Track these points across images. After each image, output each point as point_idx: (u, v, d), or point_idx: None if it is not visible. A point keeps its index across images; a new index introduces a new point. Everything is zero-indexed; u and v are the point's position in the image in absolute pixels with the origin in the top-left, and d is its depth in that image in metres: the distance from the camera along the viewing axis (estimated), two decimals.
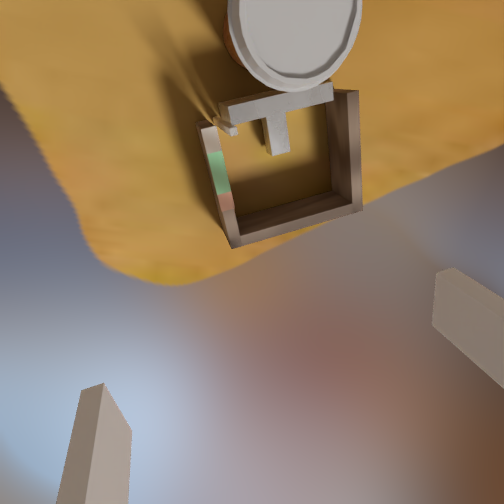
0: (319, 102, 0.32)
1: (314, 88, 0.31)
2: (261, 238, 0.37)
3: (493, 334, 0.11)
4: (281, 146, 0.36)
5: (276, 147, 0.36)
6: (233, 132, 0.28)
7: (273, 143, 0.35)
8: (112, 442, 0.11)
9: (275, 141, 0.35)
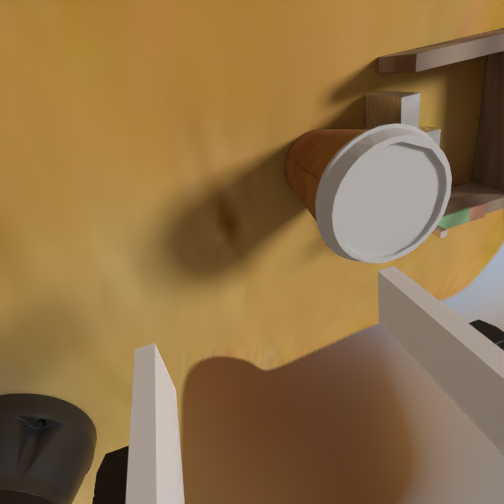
0: (417, 112, 0.27)
1: (403, 121, 0.27)
2: None
3: (422, 328, 0.12)
4: None
5: None
6: (444, 234, 0.28)
7: None
8: (165, 394, 0.12)
9: None
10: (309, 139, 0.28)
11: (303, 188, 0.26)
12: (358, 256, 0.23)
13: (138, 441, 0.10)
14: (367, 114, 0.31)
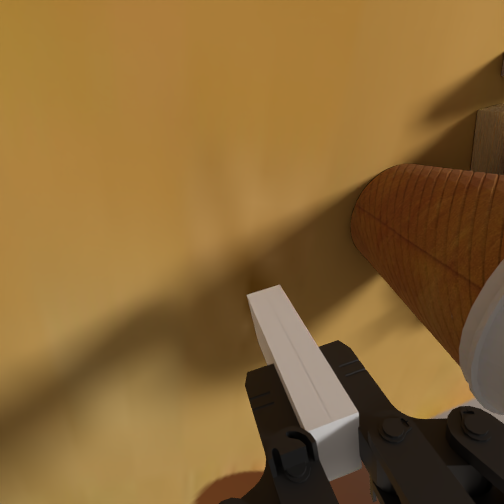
0: None
1: None
2: None
3: None
4: None
5: None
6: None
7: None
8: None
9: None
10: (404, 185, 0.17)
11: (408, 276, 0.15)
12: None
13: (282, 357, 0.11)
14: (478, 140, 0.20)
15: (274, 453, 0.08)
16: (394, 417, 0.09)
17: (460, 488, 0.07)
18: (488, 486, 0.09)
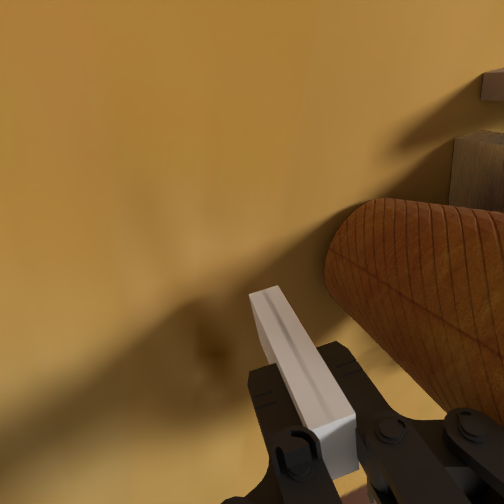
0: None
1: None
2: None
3: None
4: None
5: None
6: None
7: None
8: None
9: None
10: (390, 227, 0.14)
11: (418, 348, 0.12)
12: None
13: (285, 356, 0.11)
14: (455, 170, 0.18)
15: (277, 452, 0.08)
16: (391, 418, 0.09)
17: (457, 489, 0.07)
18: (485, 487, 0.09)
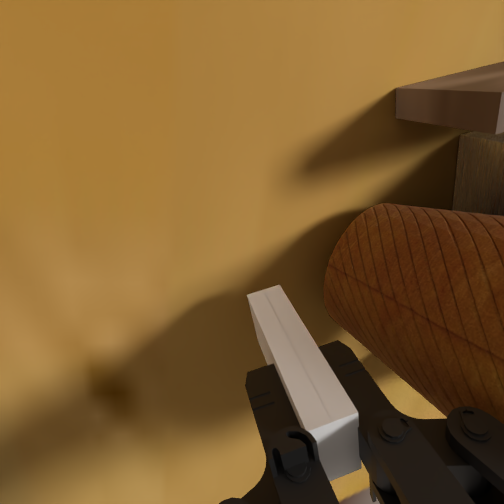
0: None
1: None
2: None
3: None
4: None
5: None
6: None
7: None
8: None
9: None
10: (403, 240, 0.13)
11: (458, 384, 0.10)
12: None
13: (282, 357, 0.11)
14: (460, 170, 0.17)
15: (274, 453, 0.08)
16: (394, 417, 0.09)
17: (460, 488, 0.07)
18: (488, 486, 0.09)
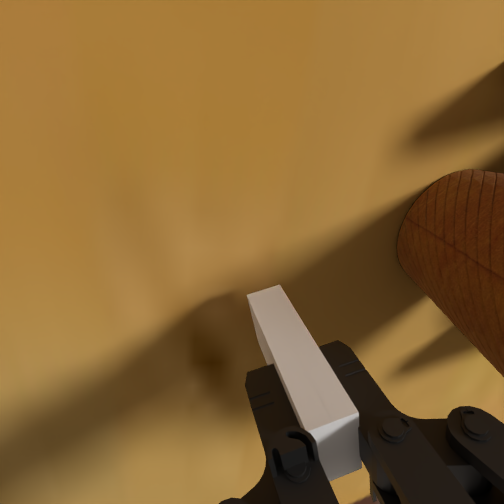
0: None
1: None
2: None
3: None
4: None
5: None
6: None
7: None
8: None
9: None
10: (475, 197, 0.14)
11: (490, 317, 0.12)
12: None
13: (282, 357, 0.11)
14: None
15: (274, 453, 0.08)
16: (394, 417, 0.09)
17: (460, 488, 0.07)
18: (488, 486, 0.09)
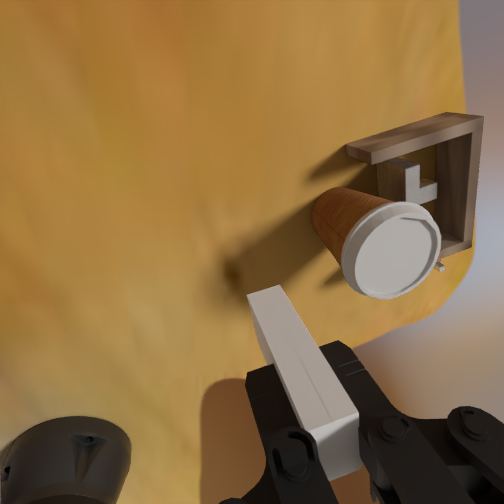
0: (418, 178, 0.35)
1: (407, 185, 0.35)
2: (472, 223, 0.40)
3: None
4: (431, 191, 0.40)
5: (431, 195, 0.40)
6: (442, 269, 0.37)
7: (427, 199, 0.40)
8: None
9: (426, 197, 0.40)
10: (331, 199, 0.37)
11: (329, 240, 0.35)
12: (373, 295, 0.32)
13: (282, 357, 0.11)
14: (378, 173, 0.40)
15: (274, 453, 0.08)
16: (394, 417, 0.09)
17: (460, 488, 0.07)
18: (488, 486, 0.09)
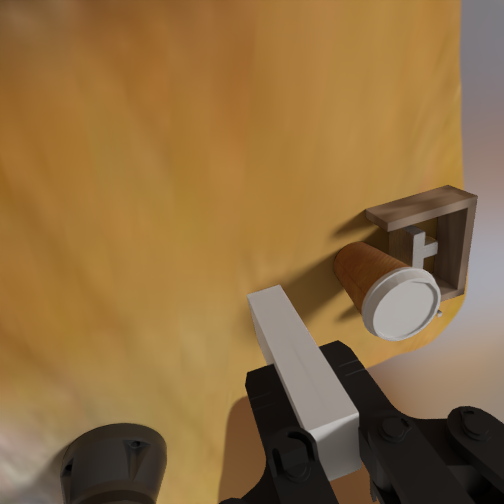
0: (423, 242, 0.44)
1: (414, 247, 0.44)
2: (465, 275, 0.49)
3: None
4: (432, 248, 0.48)
5: (432, 251, 0.49)
6: (440, 314, 0.45)
7: (429, 254, 0.49)
8: None
9: (428, 253, 0.48)
10: (352, 254, 0.45)
11: (351, 290, 0.43)
12: (386, 338, 0.40)
13: (282, 357, 0.11)
14: (390, 231, 0.48)
15: (274, 453, 0.08)
16: (394, 417, 0.09)
17: (460, 488, 0.07)
18: (488, 486, 0.09)
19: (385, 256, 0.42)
